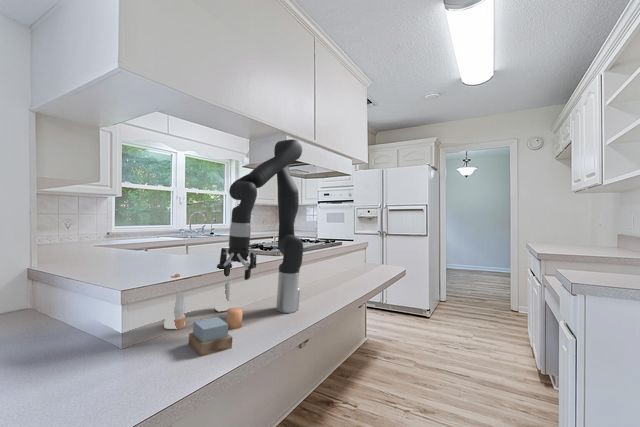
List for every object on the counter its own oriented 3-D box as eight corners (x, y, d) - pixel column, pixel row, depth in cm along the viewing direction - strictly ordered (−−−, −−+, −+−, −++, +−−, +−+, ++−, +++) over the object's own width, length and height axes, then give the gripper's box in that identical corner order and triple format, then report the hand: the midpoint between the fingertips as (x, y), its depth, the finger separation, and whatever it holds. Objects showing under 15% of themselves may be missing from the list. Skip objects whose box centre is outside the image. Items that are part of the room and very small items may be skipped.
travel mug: (231, 308, 139) (234, 262, 138) (225, 313, 132) (228, 265, 132) (218, 306, 140) (221, 261, 139) (211, 311, 133) (214, 264, 133)
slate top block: (216, 328, 107) (217, 316, 107) (227, 336, 101) (228, 324, 101) (192, 333, 102) (193, 321, 102) (202, 342, 96) (203, 329, 96)
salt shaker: (174, 321, 120) (177, 270, 119) (189, 324, 117) (192, 273, 117) (158, 327, 113) (161, 274, 113) (174, 331, 111) (177, 277, 110)
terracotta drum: (237, 322, 123) (238, 307, 123) (244, 327, 119) (245, 311, 119) (223, 325, 119) (224, 309, 119) (230, 330, 115) (231, 313, 115)
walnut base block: (218, 338, 109) (218, 326, 109) (231, 349, 101) (232, 337, 101) (188, 345, 102) (189, 333, 102) (200, 357, 95) (201, 344, 94)
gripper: (217, 233, 117) (214, 277, 117) (251, 237, 113) (248, 282, 113) (229, 232, 124) (226, 273, 125) (261, 236, 120) (258, 278, 120)
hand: (236, 277), depth 119 cm, fingers open, 8 cm apart
